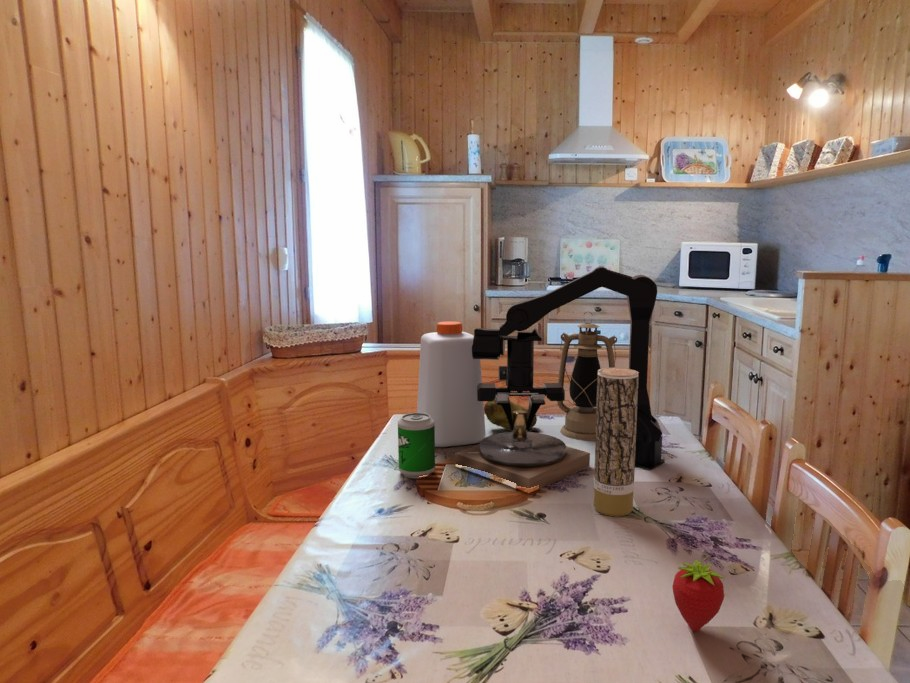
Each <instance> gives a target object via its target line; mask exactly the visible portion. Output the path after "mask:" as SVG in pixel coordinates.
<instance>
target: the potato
mask: <svg viewBox="0 0 910 683" xmlns="http://www.w3.org/2000/svg"><path fill="white" fill-rule="evenodd" d="M510 405H511V413H512V412H513V411H519V410H520V411H526V412H527V415H528V408H526V407H524V406H521V405H519V404H517V403H515V402H513V401H511V400H510ZM484 415H485V416H486V420H488V421H489V422H490V423H491V424H492V425H495V426H498V427H500V428H502V429H505V430H508V431H509V432H512V431H511V429H510V426H509V423H508V420H507V416H506V414H505V412H504V410H503V408H502V406H501V405H497V404H496V398H495V399H494V400H493V401H486V403H485V404H484ZM537 422H538V417H537V413H536V414H535V417H534V419H533V421H532V424H531V426H530V429H533V427H535V426H536V424H537Z"/></svg>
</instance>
